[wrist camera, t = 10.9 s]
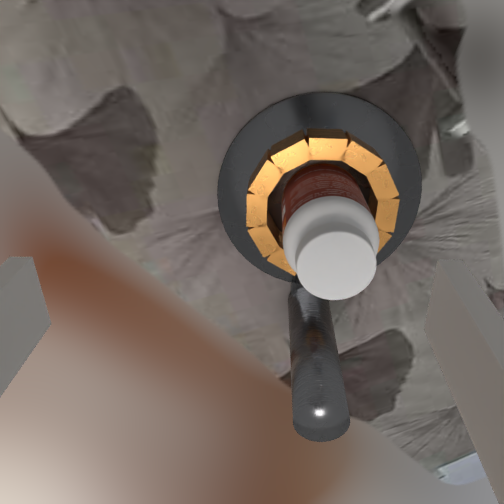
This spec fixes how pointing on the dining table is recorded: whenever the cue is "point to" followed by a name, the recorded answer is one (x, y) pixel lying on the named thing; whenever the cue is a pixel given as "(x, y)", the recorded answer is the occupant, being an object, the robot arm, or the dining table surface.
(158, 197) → the dining table surface
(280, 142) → the round base with peg
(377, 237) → the pill bottle
